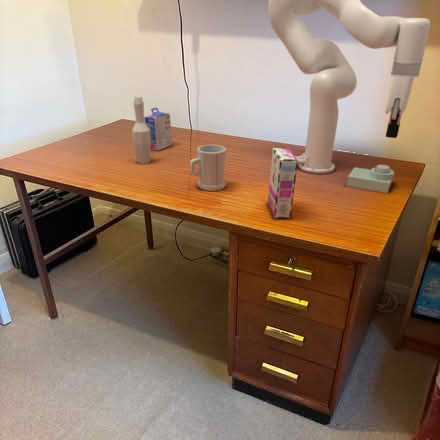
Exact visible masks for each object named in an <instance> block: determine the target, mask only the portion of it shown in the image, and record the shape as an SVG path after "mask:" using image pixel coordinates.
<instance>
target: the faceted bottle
mask: <svg viewBox="0 0 440 440" xmlns="http://www.w3.org/2000/svg"><path fill="white" fill-rule="evenodd" d="M133 108H134V115H135V123H134V124H133V127H132V129H131V137H132V144H133V149H134V153H135V157H136V162H137V163H138V164H139V165H140V164H142V165H145V164H149V163H150V162H151V151H152V150H151V135H150V129H149V127H148V126H147V125H146V123H145V118H144V117H145V102H144V99H143V97H142V96H141V95H136V96H134V97H133Z"/></svg>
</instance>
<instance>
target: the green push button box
mask: <svg viewBox="0 0 440 440" xmlns="http://www.w3.org/2000/svg"><path fill="white" fill-rule="evenodd" d="M376 167H377V166H375V167H372V168H371V169H369V168H363V167H357V166H356V167H353V169H352V170H351V171H350V173H349V174H348V176H347V179H346V184H345V185H346V187H351V188H357V189H361V190H362V189H363V190H368V191H375V192H380V193H386V194H388V193H389V191H390V188H391V186H392V184H393V182H394V178H395V171H394V170H393V169H391V168H390V169H389V173H378V172H376Z"/></svg>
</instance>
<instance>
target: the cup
mask: <svg viewBox="0 0 440 440" xmlns="http://www.w3.org/2000/svg"><path fill="white" fill-rule="evenodd" d="M196 152H197V157H196V158H192V159H191V160H190V161H189V169H190V173H191V174H192V175H193V176H194V177H197V176H198V181H197V186H198V188H199V189H200V190H203V191H207V192H217V191H221V190H223V189H224V188H225V187H226V180H225V167H226V166H225V165H226V153H227V148H226V147H225V146H223V145H219V144H203V145H200V146H198V147H197V148H196ZM197 164H198V170H196V169H195V166H196V165H197Z"/></svg>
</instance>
